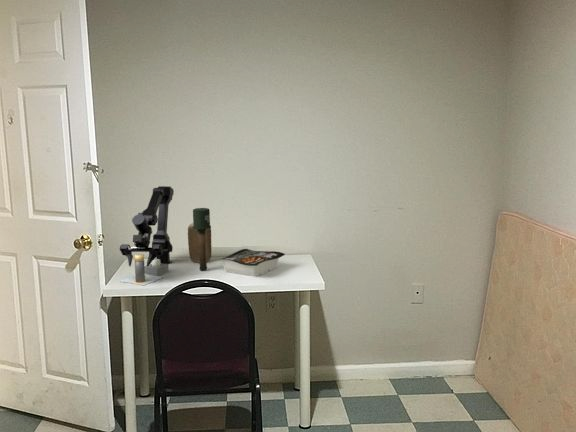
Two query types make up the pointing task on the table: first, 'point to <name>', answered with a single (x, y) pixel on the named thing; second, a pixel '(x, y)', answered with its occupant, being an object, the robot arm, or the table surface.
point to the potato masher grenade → (202, 232)
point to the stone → (198, 244)
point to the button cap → (156, 263)
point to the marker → (139, 268)
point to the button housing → (156, 269)
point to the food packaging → (251, 262)
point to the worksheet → (147, 280)
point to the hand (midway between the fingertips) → (138, 266)
